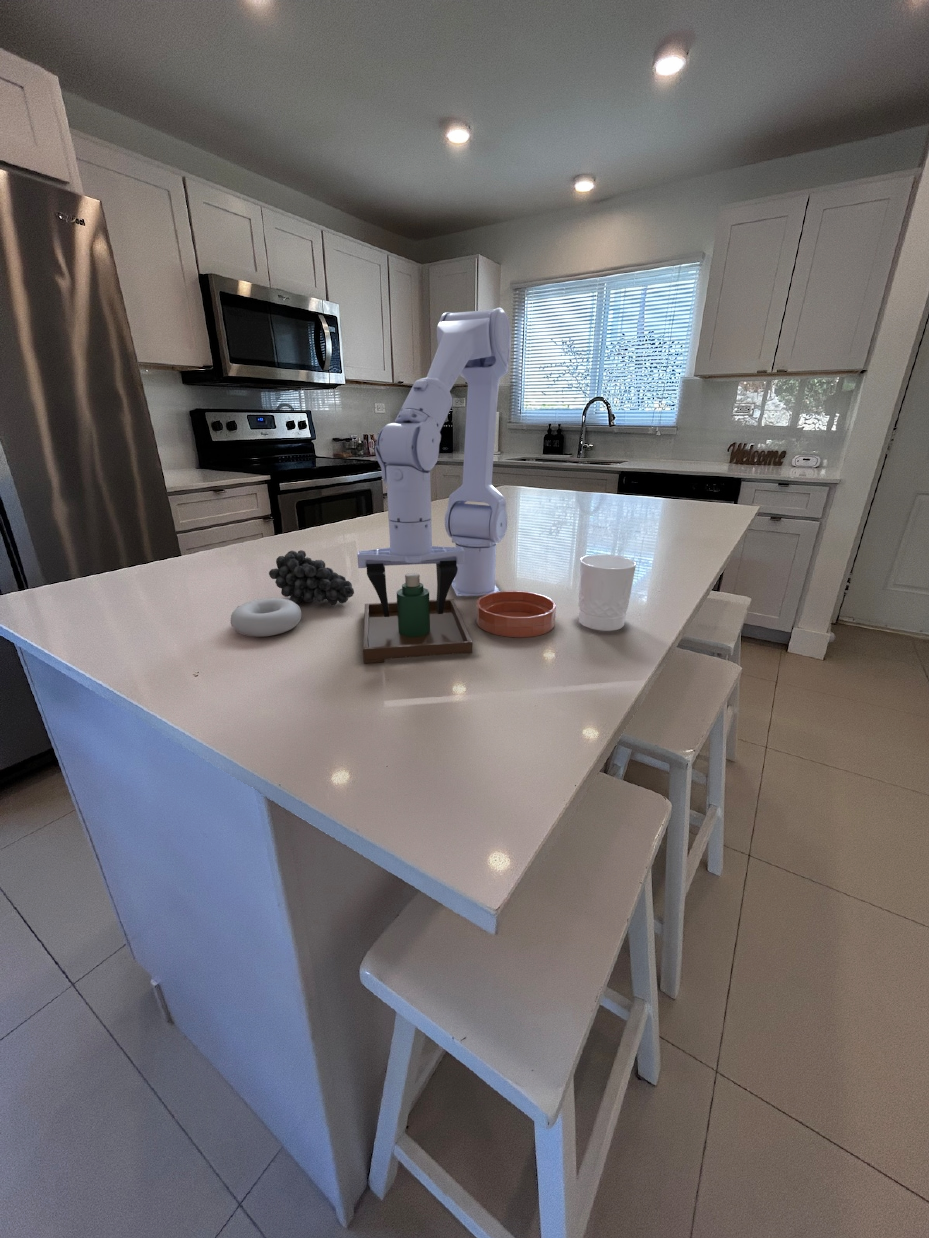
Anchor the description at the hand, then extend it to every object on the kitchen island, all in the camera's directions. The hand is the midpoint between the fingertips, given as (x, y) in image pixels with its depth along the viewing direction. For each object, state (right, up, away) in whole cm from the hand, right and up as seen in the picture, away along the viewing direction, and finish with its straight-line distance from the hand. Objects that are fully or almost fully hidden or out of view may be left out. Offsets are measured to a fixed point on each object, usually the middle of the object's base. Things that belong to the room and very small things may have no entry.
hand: (413, 613), depth 73 cm
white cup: (+28, -2, +5) cm, 29 cm away
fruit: (-18, +2, +14) cm, 23 cm away
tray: (0, -3, +1) cm, 3 cm away
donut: (-22, -2, +3) cm, 23 cm away
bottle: (0, -3, +1) cm, 3 cm away
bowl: (+15, -2, +5) cm, 16 cm away
